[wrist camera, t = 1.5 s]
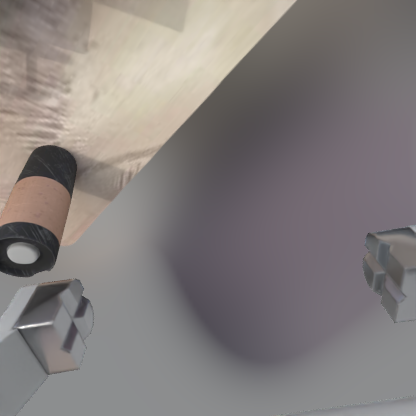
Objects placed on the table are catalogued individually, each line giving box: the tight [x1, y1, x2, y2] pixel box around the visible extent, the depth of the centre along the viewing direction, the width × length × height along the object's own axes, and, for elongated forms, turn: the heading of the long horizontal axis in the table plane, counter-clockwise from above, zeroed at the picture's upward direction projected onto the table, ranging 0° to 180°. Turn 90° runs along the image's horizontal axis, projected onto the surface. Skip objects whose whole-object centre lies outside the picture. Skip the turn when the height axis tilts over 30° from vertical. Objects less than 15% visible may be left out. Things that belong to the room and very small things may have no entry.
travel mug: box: [0, 145, 77, 277], centre depth 46 cm, size 8×8×20 cm
